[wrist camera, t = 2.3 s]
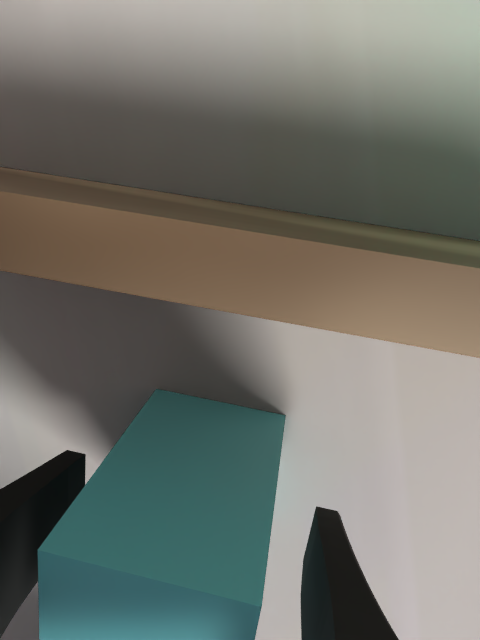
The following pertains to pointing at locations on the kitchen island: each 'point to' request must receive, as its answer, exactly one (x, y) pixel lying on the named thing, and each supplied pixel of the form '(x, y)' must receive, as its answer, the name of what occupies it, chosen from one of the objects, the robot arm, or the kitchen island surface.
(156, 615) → the teal block
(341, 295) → the walnut screen
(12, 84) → the kitchen island surface
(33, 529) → the robot arm
